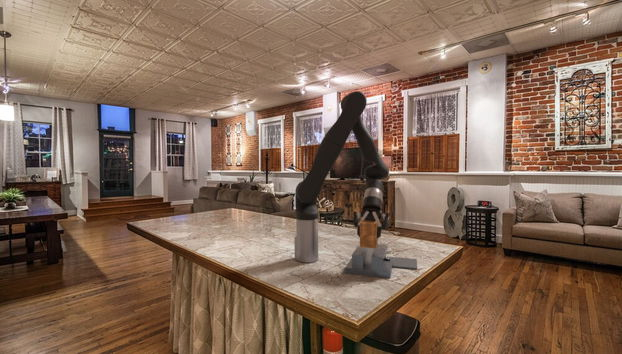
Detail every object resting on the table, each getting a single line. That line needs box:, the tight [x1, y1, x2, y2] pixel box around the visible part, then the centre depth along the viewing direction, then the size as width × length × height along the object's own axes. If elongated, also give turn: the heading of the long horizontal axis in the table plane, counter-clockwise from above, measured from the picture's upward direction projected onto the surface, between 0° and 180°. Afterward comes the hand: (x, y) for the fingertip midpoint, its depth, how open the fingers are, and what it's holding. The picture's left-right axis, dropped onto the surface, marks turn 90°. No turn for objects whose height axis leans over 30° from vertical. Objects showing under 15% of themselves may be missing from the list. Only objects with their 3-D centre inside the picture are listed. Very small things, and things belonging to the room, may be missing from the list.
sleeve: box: [359, 220, 379, 248], centre depth 108 cm, size 6×6×9 cm
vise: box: [344, 245, 394, 279], centre depth 109 cm, size 16×12×14 cm
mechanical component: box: [374, 240, 392, 255], centre depth 134 cm, size 10×4×10 cm
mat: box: [386, 255, 418, 271], centre depth 116 cm, size 12×12×1 cm
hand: (368, 236), depth 107 cm, fingers closed on sleeve, 6 cm apart
